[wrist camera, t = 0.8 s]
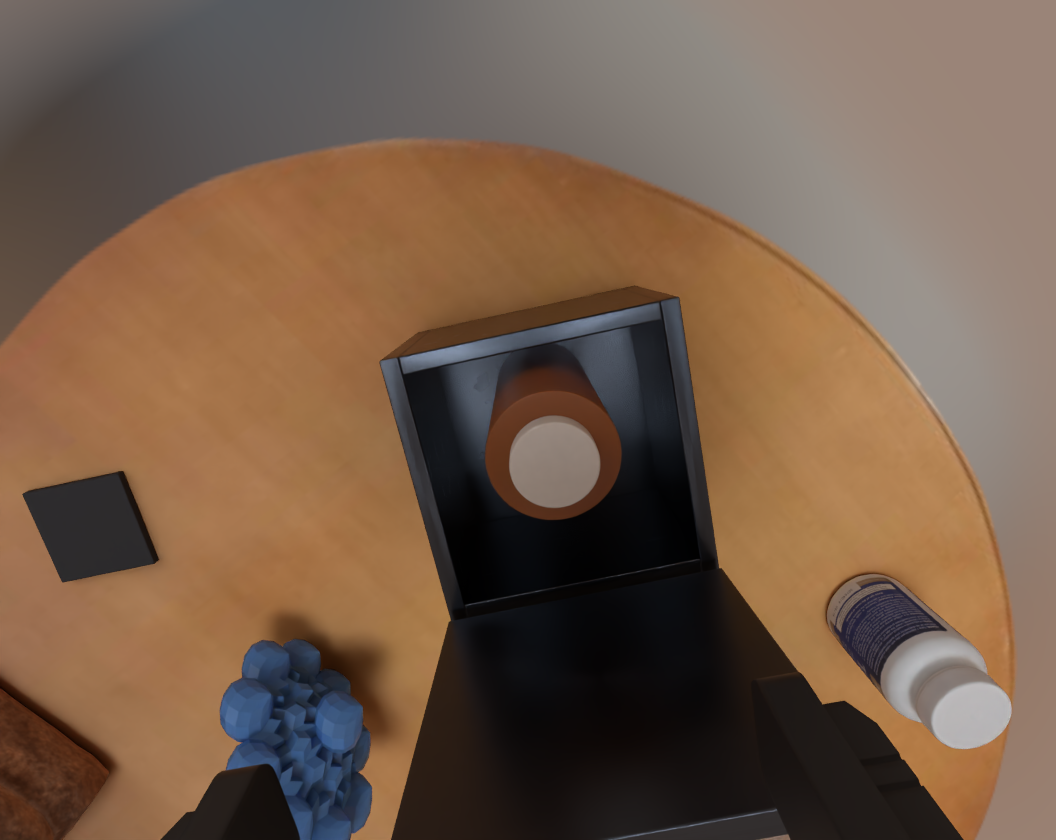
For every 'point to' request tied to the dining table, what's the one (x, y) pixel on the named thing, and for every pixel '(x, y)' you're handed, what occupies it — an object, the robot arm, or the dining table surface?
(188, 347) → the dining table surface
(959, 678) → the pill bottle
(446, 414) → the black hinged box
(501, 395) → the amber bottle
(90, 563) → the coaster
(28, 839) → the bread
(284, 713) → the grapes
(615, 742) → the lid
